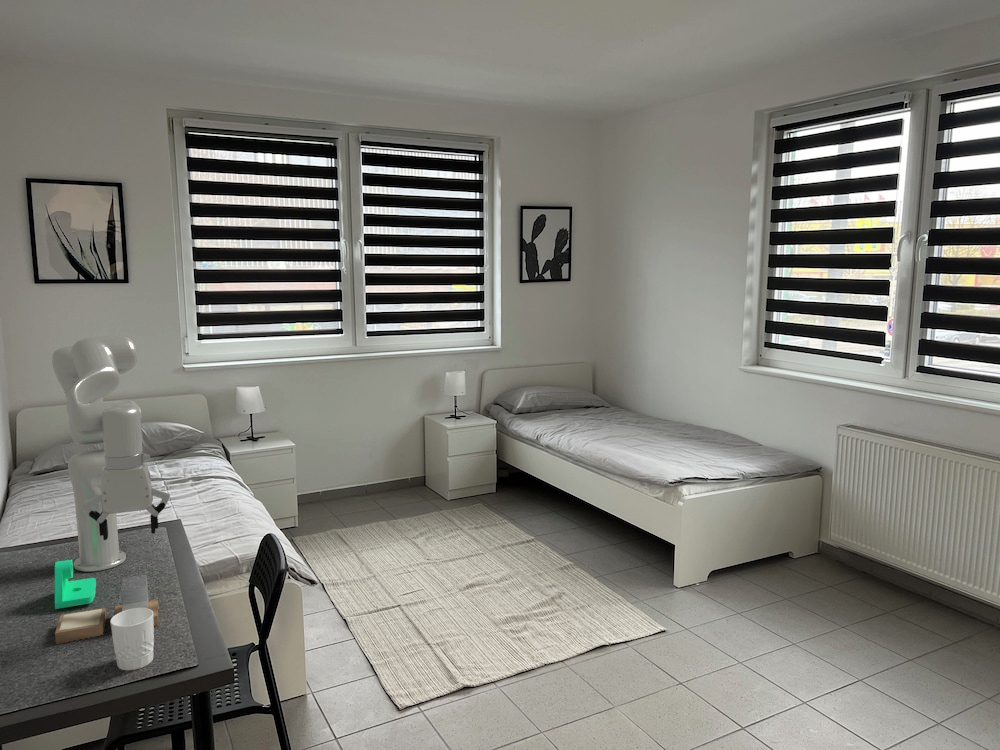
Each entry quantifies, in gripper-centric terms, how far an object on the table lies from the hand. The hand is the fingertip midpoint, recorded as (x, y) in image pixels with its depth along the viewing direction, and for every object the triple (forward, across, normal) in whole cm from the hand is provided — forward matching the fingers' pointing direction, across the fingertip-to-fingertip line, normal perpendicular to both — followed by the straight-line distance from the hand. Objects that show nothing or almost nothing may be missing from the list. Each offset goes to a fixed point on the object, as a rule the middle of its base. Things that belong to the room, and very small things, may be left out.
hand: (130, 534), depth 164 cm
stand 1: (+21, +11, 0) cm, 23 cm away
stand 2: (+21, 0, 0) cm, 21 cm away
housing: (+18, 0, 0) cm, 18 cm away
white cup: (+21, -1, +19) cm, 28 cm away
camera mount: (+21, +14, -18) cm, 31 cm away
